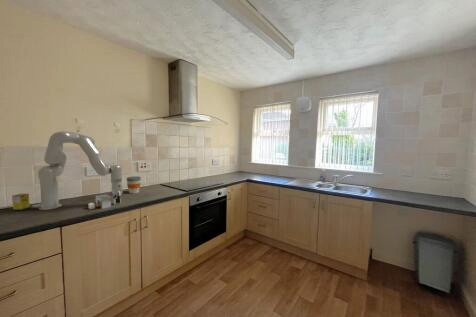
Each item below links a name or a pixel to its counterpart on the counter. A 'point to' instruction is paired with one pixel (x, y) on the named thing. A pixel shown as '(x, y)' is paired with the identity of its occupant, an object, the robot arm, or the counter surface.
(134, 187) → the reusable coffee cup
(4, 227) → the counter surface
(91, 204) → the wooden dumbbell
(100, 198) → the housing
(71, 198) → the counter surface
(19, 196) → the supplement box
